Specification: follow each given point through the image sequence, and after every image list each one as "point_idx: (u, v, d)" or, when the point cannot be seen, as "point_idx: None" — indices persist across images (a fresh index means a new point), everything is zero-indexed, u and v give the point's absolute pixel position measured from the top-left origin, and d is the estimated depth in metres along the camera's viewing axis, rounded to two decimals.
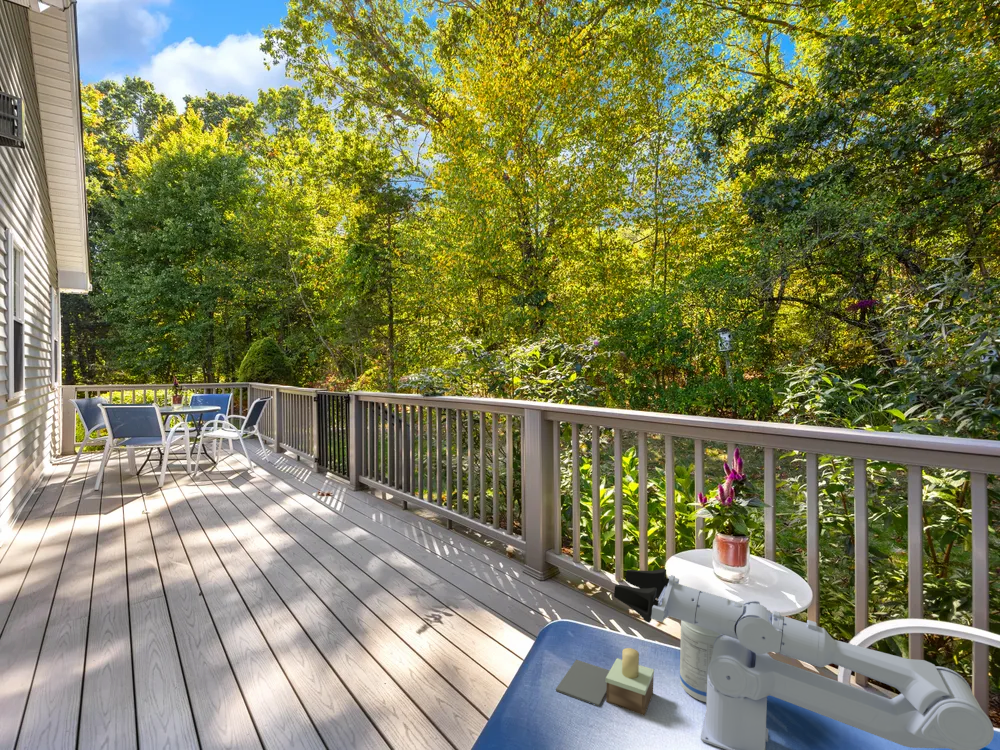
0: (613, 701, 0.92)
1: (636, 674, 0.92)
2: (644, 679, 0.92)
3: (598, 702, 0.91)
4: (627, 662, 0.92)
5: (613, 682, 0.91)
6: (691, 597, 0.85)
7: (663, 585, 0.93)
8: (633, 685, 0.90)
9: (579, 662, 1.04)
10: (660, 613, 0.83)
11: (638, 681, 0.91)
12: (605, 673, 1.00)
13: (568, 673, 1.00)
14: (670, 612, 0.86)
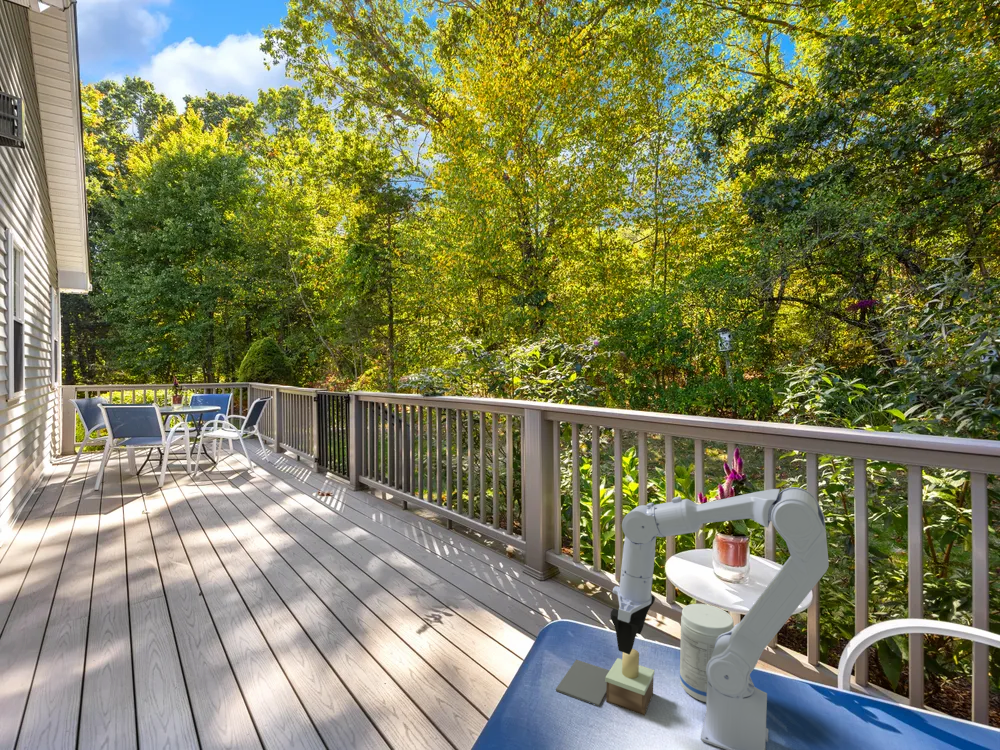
0: (613, 701, 0.92)
1: (636, 674, 0.92)
2: (644, 679, 0.92)
3: (598, 702, 0.91)
4: (627, 662, 0.92)
5: (613, 681, 0.92)
6: (622, 576, 0.92)
7: None
8: (632, 685, 0.90)
9: (579, 662, 1.04)
10: (621, 612, 0.87)
11: (638, 681, 0.91)
12: (605, 673, 1.00)
13: (568, 673, 1.00)
14: (638, 599, 0.90)
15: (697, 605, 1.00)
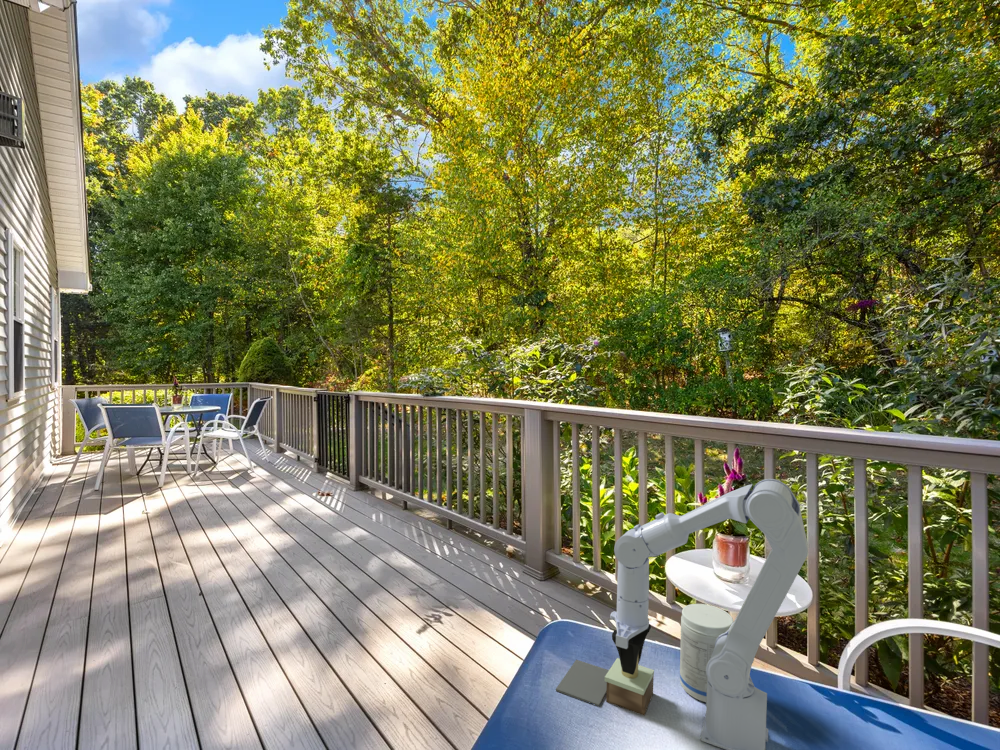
0: (613, 701, 0.92)
1: (635, 674, 0.92)
2: (643, 679, 0.92)
3: (598, 702, 0.91)
4: None
5: (612, 681, 0.92)
6: (618, 601, 0.93)
7: None
8: (632, 685, 0.90)
9: (579, 662, 1.04)
10: (619, 639, 0.87)
11: (637, 681, 0.91)
12: (605, 673, 1.00)
13: (568, 673, 1.00)
14: (635, 624, 0.90)
15: (697, 605, 1.00)
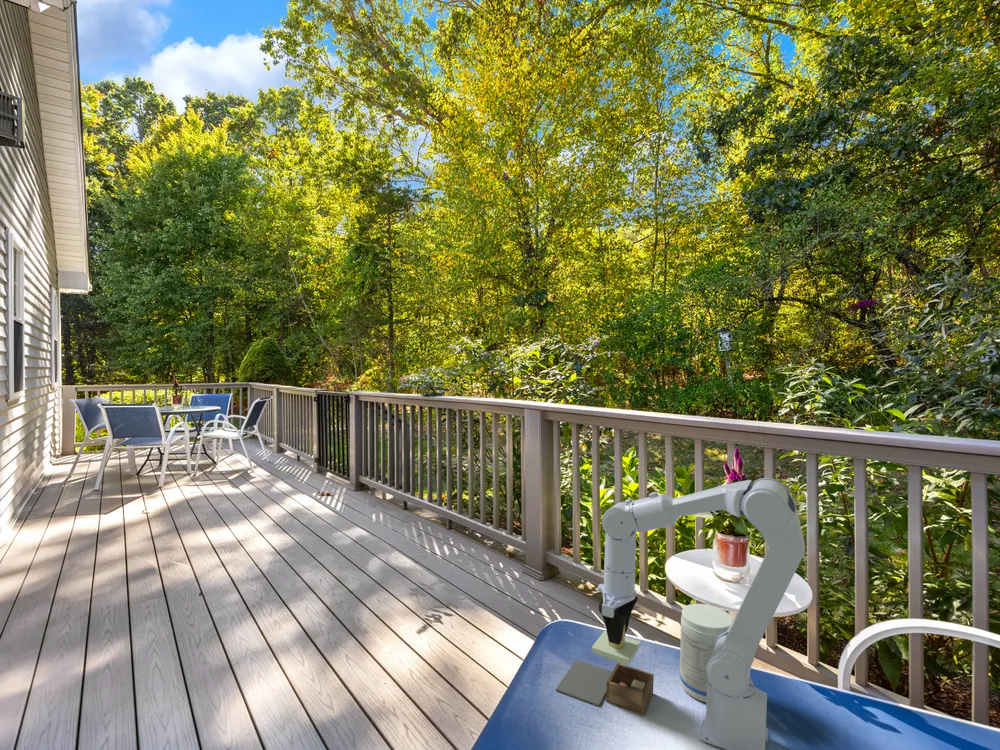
0: (613, 701, 0.92)
1: (622, 645, 0.93)
2: (629, 650, 0.93)
3: (598, 702, 0.91)
4: None
5: (598, 651, 0.93)
6: (605, 573, 0.94)
7: None
8: (618, 654, 0.91)
9: (579, 662, 1.04)
10: (605, 608, 0.88)
11: (623, 651, 0.92)
12: (605, 673, 1.00)
13: (568, 673, 1.00)
14: (621, 595, 0.92)
15: (697, 605, 1.00)
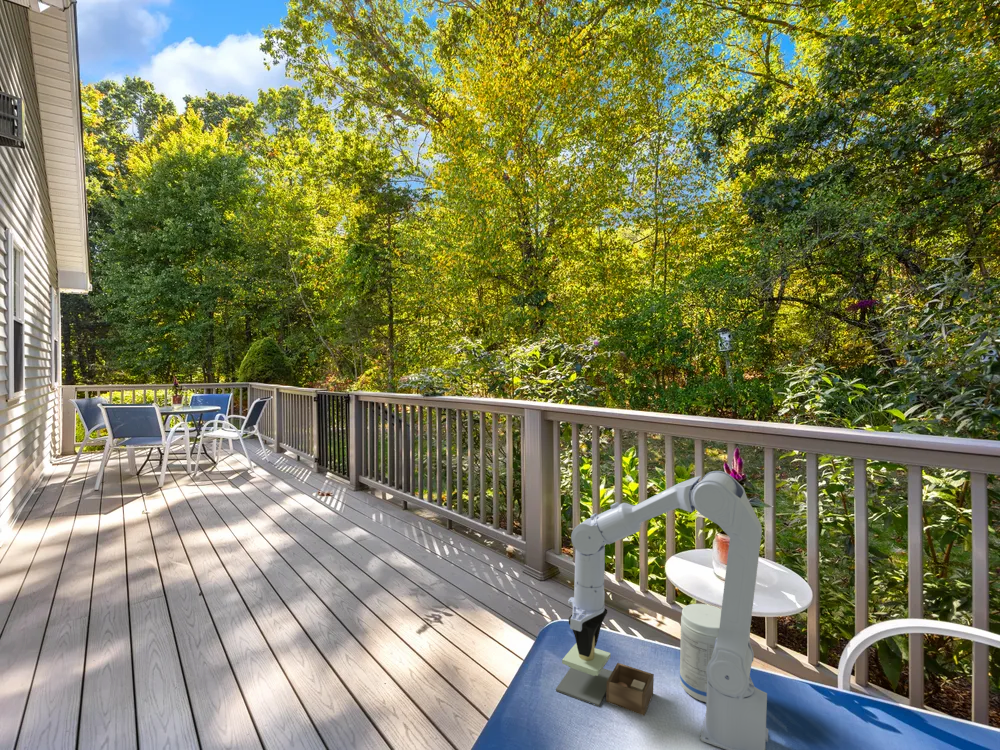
0: (613, 701, 0.92)
1: (591, 656, 0.96)
2: (599, 661, 0.96)
3: (598, 702, 0.91)
4: None
5: (569, 663, 0.96)
6: (575, 587, 0.97)
7: None
8: (587, 666, 0.94)
9: None
10: (573, 622, 0.91)
11: (593, 663, 0.95)
12: (605, 673, 1.00)
13: (568, 673, 1.00)
14: (590, 608, 0.94)
15: (697, 605, 1.00)
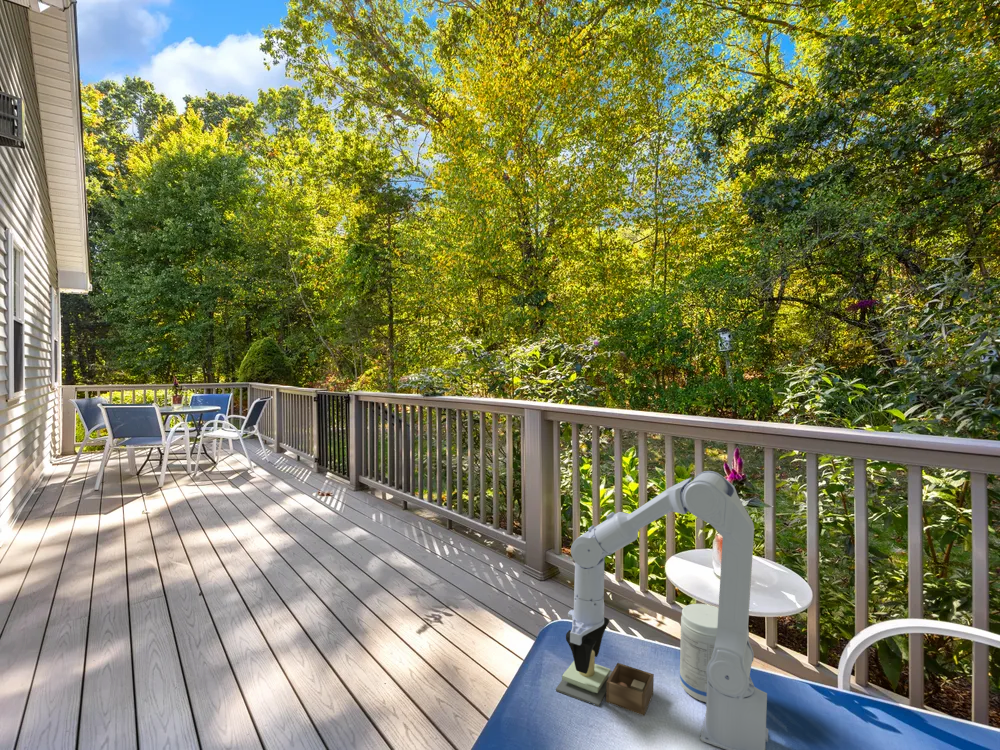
0: (613, 701, 0.92)
1: (591, 673, 0.96)
2: (599, 678, 0.96)
3: (598, 702, 0.91)
4: None
5: (569, 680, 0.96)
6: (574, 600, 0.97)
7: None
8: (587, 683, 0.94)
9: None
10: (573, 635, 0.91)
11: (593, 679, 0.95)
12: None
13: None
14: (590, 622, 0.95)
15: (697, 605, 1.00)
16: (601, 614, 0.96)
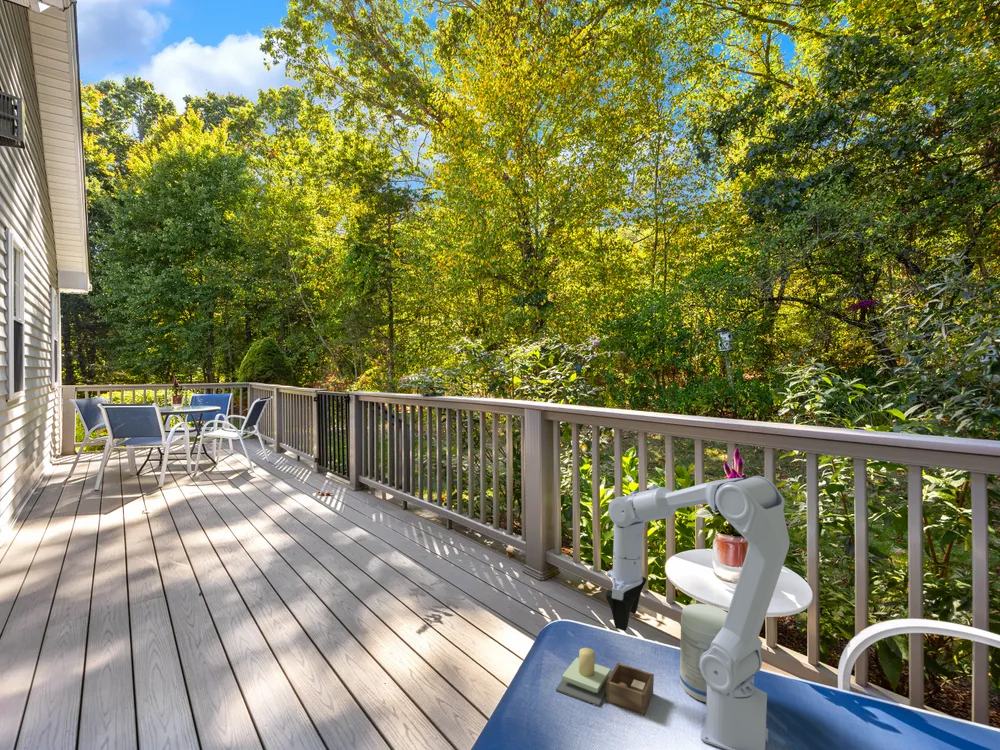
0: (613, 701, 0.92)
1: (591, 673, 0.96)
2: (599, 678, 0.96)
3: (598, 702, 0.91)
4: (582, 661, 0.97)
5: (569, 680, 0.96)
6: (614, 559, 1.01)
7: None
8: (587, 683, 0.94)
9: None
10: (615, 591, 0.95)
11: (593, 679, 0.95)
12: None
13: None
14: (629, 579, 0.99)
15: (697, 605, 1.00)
16: (640, 572, 1.00)
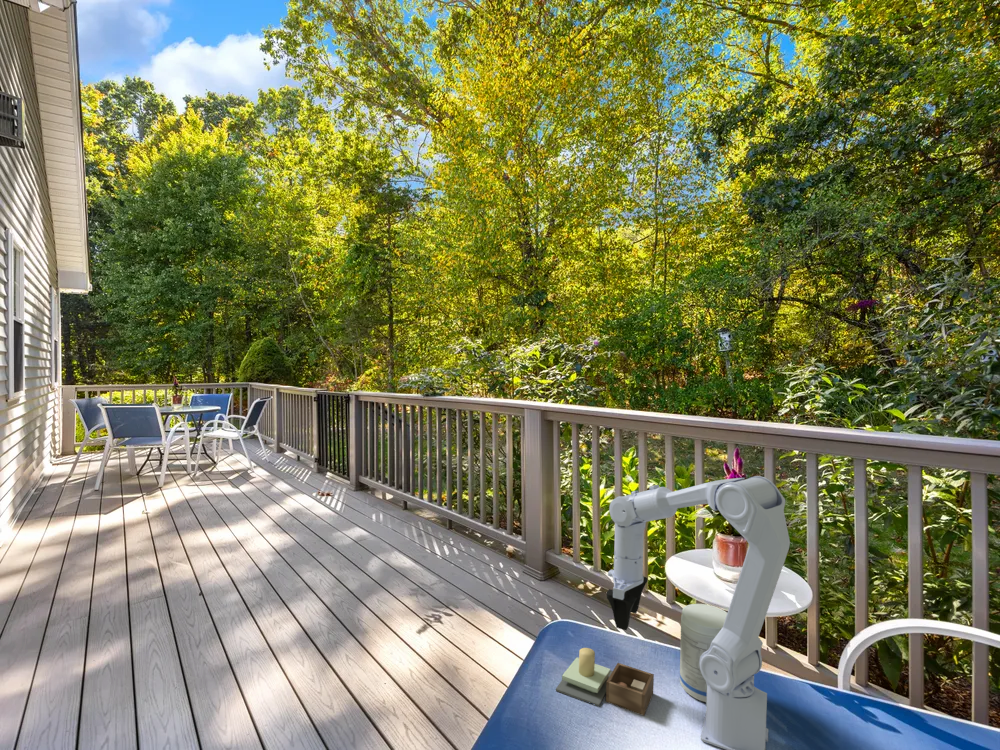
0: (613, 701, 0.92)
1: (591, 673, 0.96)
2: (599, 678, 0.96)
3: (598, 702, 0.91)
4: (582, 661, 0.97)
5: (569, 680, 0.96)
6: (615, 559, 1.01)
7: None
8: (587, 683, 0.94)
9: None
10: (616, 591, 0.95)
11: (593, 679, 0.95)
12: None
13: None
14: (630, 579, 0.99)
15: (697, 605, 1.00)
16: (641, 572, 1.00)
